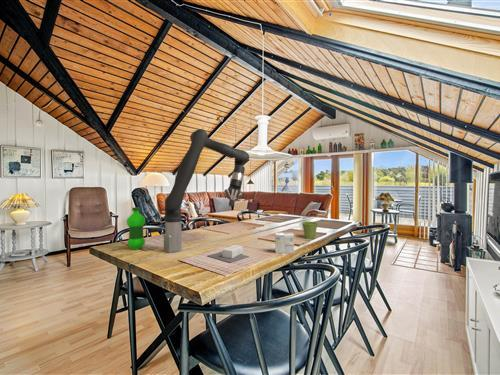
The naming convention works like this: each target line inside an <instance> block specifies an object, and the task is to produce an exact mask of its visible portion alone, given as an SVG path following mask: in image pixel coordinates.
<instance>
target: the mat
mask: <svg viewBox="0 0 500 375" xmlns="http://www.w3.org/2000/svg"><path fill="white" fill-rule="evenodd" d="M207 257H208V258H212V259H214V260H218V261H222V262H226V263H229V264H231V263H234V262H238V261H240V260H244V259H247V258H249V257H250V256H249V255H245V254H243V253H241V254H240V255H238V256H236V257H234V258H224V257H223V250H222V251H220V252H215V253H211V254H209V255H208V254H207Z"/></svg>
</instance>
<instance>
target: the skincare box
mask: <svg viewBox="0 0 500 375" xmlns="http://www.w3.org/2000/svg"><path fill="white" fill-rule="evenodd" d="M222 251H223V257H224V258H234V257H236V256H238V255H240V254H243V252H244V251H243V245H238V244H232V245H230V246H228V247H225V248H223V249H222Z"/></svg>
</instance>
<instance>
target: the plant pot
mask: <svg viewBox="0 0 500 375" xmlns="http://www.w3.org/2000/svg"><path fill="white" fill-rule="evenodd" d="M301 225H302V229H303V233H304V234H303V235H304V239H307V238H308V239H307V240H313V239H314V238H315V239H316V234H317V230H318V229H317V228H318V225H319V223H318V222H317V221H302V222H301Z"/></svg>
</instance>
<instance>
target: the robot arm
mask: <svg viewBox="0 0 500 375" xmlns="http://www.w3.org/2000/svg"><path fill="white" fill-rule="evenodd" d="M189 139H190V142H191V143H190V146H189V148H188V150H187V151H186V153H185V155H184V156H183V158H182V160H181V162H180V163H179V167H178V168H177V172H176V174H175V179H174V183H173V186H172V188H171V191H170V192H169V194H168V195H167V196H166V198H165V199H164V224H165V225H164V234H163V251H164V252H167V253H176V252H180V251H182V212H181V210H182V208H181V207H182V205H183V204H182V203H183V200H184V196H185V193H186V190H187V188H188V186H189V184H190V182H191V180H192V178H193V176H194V173H195V171H196V168H197V165H198V162H199V159H200V156H201V154H202V151H203V150H204V148H205V149H209V150H211V151H213V152H216V153H218V154H220V155H223V156H225V157H227V158H229V159H234V168H233V172H232V175H231V178H230V183H229V186H228V188H227V189H224V194H225V197H226V199H228V200H229V202H228V206H229V207H233V206H234V203H235V202H236V201H238V200H239V199H241V198H243V196H244V194H243V193H242V185H243V180H244V176H245V171H246V170H245V169H246V167H245V166H244V163H247V162H248V161H249V159H250V155H249V153H248V152H247V151H245V150H242V149H239V148H235V147H233V146H230V145H228V144H226V143H223V142H220V141H216V140H214V139H212V138H210V137H209V136H208V132H207V131H206V130H205V129H202V128H200V129H196V130H195V131H193V132H192V133H191V134H190V137H189Z"/></svg>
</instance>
